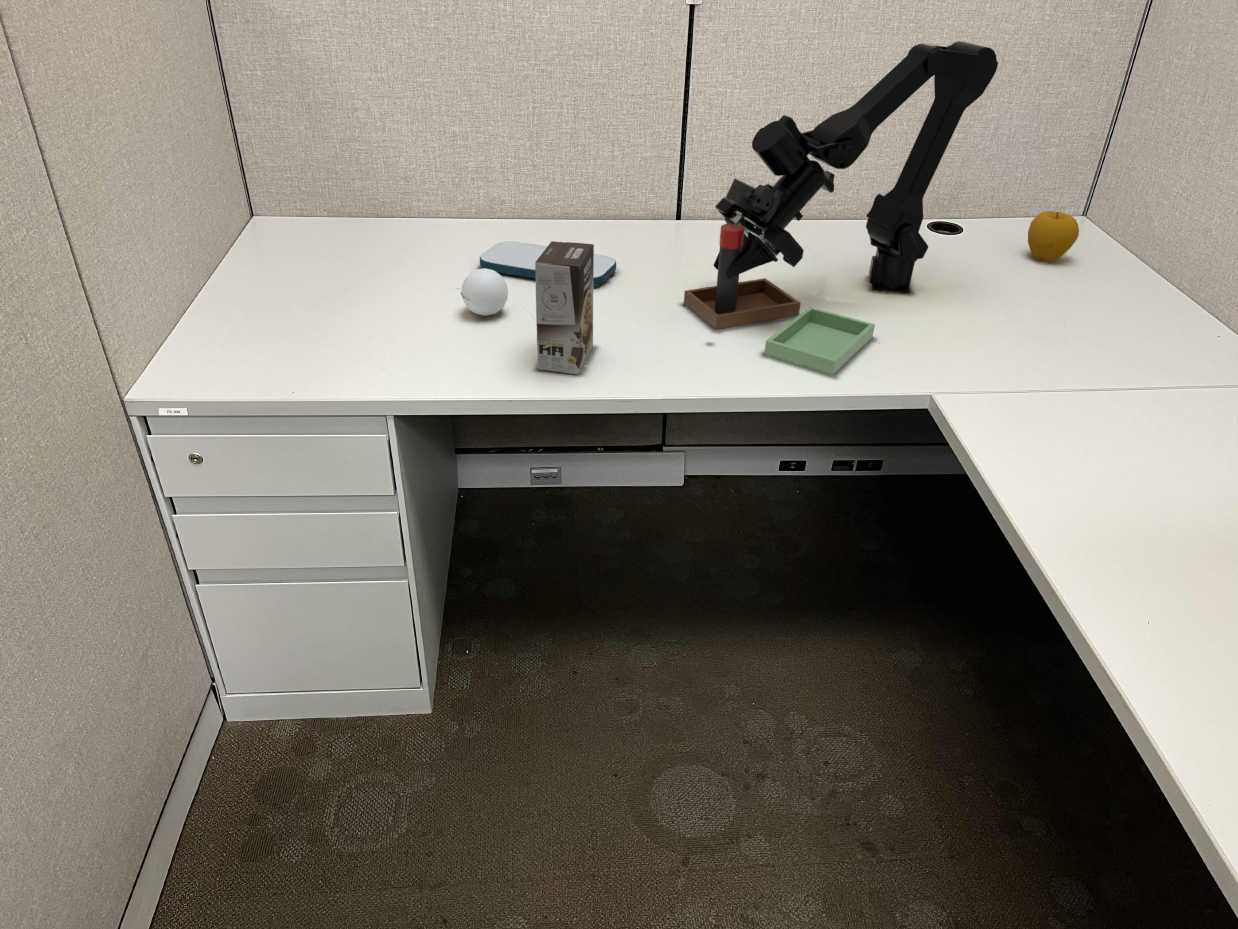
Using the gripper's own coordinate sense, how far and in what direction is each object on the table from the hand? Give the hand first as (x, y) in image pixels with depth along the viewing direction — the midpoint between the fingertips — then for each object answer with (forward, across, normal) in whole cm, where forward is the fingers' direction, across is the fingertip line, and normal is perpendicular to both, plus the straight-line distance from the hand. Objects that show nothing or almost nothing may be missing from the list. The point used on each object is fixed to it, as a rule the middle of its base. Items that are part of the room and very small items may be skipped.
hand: (721, 272), depth 138 cm
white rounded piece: (+30, -14, -20) cm, 39 cm away
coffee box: (+25, +6, -15) cm, 30 cm away
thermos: (+4, 0, +6) cm, 7 cm away
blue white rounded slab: (+19, -28, -8) cm, 34 cm away
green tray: (-1, +16, +12) cm, 20 cm away
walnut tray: (+2, 0, +8) cm, 8 cm away
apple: (-45, 0, +56) cm, 72 cm away
